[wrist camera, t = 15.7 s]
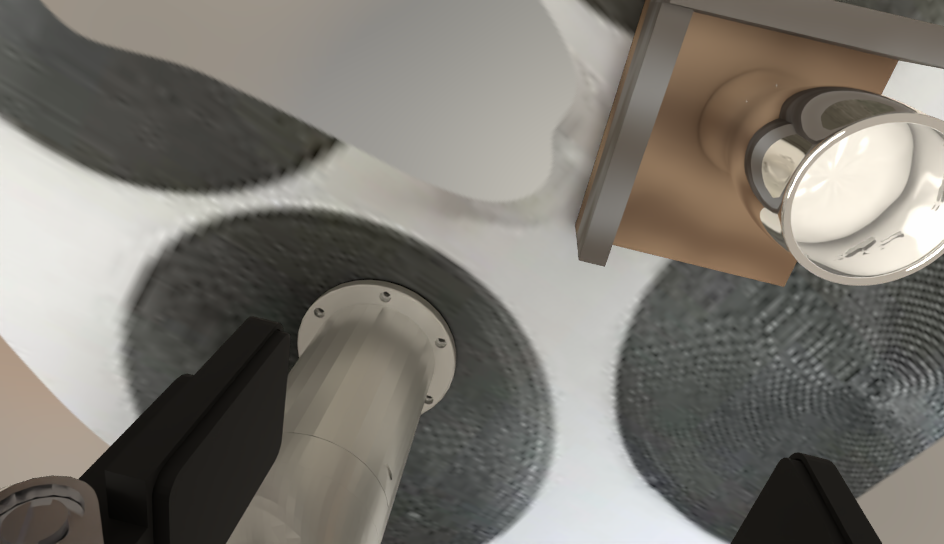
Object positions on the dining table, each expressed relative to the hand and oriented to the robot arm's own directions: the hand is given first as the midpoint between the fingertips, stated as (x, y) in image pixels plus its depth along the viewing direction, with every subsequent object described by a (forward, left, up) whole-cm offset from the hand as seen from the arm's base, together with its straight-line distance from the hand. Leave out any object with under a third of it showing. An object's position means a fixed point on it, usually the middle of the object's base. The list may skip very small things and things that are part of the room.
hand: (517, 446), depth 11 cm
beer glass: (+3, -12, -28) cm, 31 cm away
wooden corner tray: (+2, -11, -30) cm, 32 cm away
